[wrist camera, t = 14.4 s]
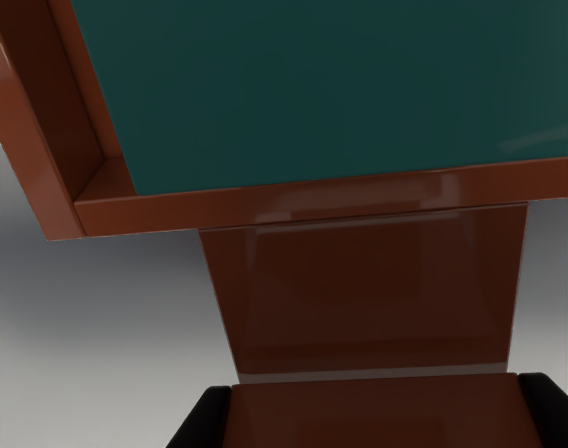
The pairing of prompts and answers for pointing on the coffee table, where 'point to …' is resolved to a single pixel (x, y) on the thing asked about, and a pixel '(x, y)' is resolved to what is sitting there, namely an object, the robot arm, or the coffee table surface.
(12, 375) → the coffee table surface
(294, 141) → the block
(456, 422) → the orange handled tray
